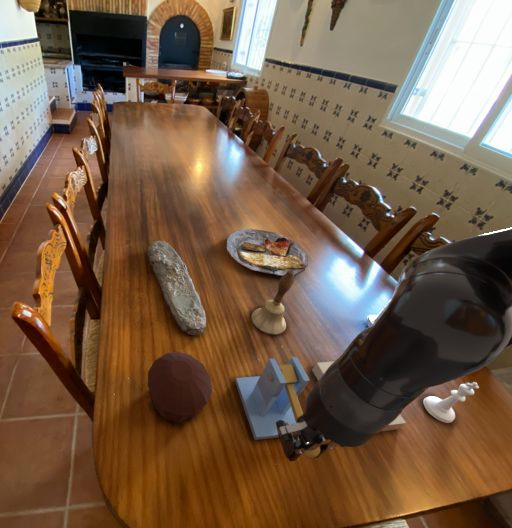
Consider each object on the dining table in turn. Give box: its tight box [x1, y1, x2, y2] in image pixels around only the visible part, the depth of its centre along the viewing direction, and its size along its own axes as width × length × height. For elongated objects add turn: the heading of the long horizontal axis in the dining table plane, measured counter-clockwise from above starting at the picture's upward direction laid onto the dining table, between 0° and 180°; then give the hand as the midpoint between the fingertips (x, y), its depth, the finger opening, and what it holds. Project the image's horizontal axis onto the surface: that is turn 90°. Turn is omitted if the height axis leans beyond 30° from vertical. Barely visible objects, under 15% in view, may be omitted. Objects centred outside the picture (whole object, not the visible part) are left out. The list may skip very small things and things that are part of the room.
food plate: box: [226, 228, 309, 277], centre depth 93 cm, size 25×23×4 cm
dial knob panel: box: [311, 360, 407, 432], centre depth 57 cm, size 13×10×4 cm
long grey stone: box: [147, 240, 207, 336], centre depth 79 cm, size 35×5×10 cm
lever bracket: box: [234, 356, 311, 441], centre depth 52 cm, size 11×9×13 cm
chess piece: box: [423, 381, 480, 424], centre depth 55 cm, size 5×5×10 cm
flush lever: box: [278, 364, 321, 459], centre depth 46 cm, size 13×3×3 cm, turn 7°
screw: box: [365, 298, 391, 328], centre depth 69 cm, size 13×5×5 cm
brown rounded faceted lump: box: [147, 351, 213, 424], centre depth 53 cm, size 12×11×10 cm
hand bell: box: [250, 270, 295, 335], centre depth 68 cm, size 8×8×16 cm
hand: (300, 452), depth 46 cm, fingers closed on flush lever, 3 cm apart
